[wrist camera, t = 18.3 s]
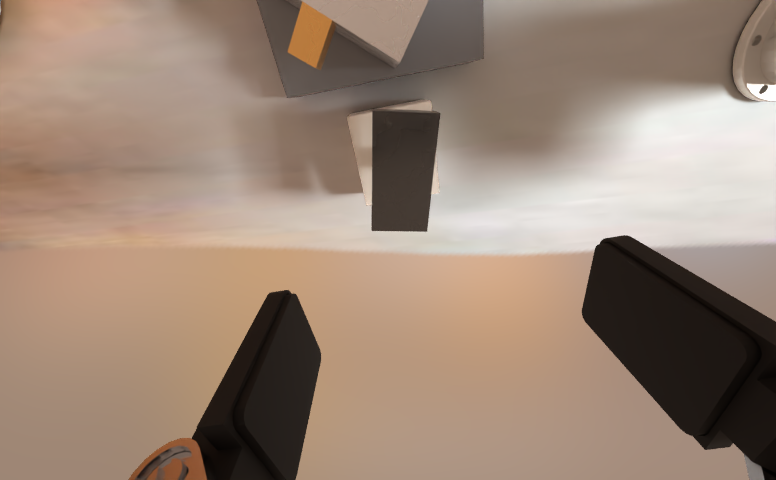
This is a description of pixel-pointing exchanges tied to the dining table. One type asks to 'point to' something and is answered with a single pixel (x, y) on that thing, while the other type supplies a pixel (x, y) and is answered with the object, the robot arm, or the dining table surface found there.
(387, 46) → the chuck
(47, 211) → the dining table surface
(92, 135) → the dining table surface
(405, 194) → the block
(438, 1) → the grey flat slab
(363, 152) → the key stand
